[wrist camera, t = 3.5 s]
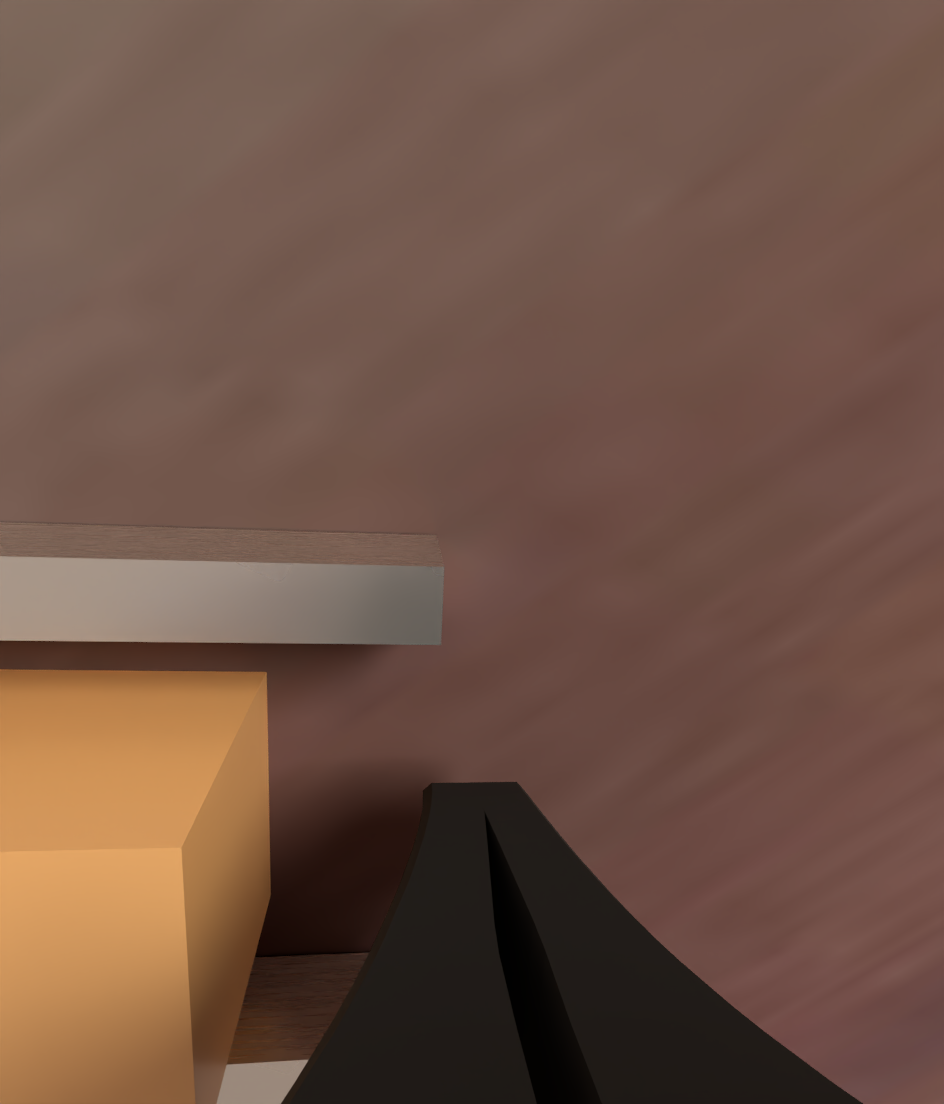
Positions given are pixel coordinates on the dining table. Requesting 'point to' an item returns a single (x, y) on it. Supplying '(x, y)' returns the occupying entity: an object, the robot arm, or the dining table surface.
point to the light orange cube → (128, 880)
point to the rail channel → (232, 617)
